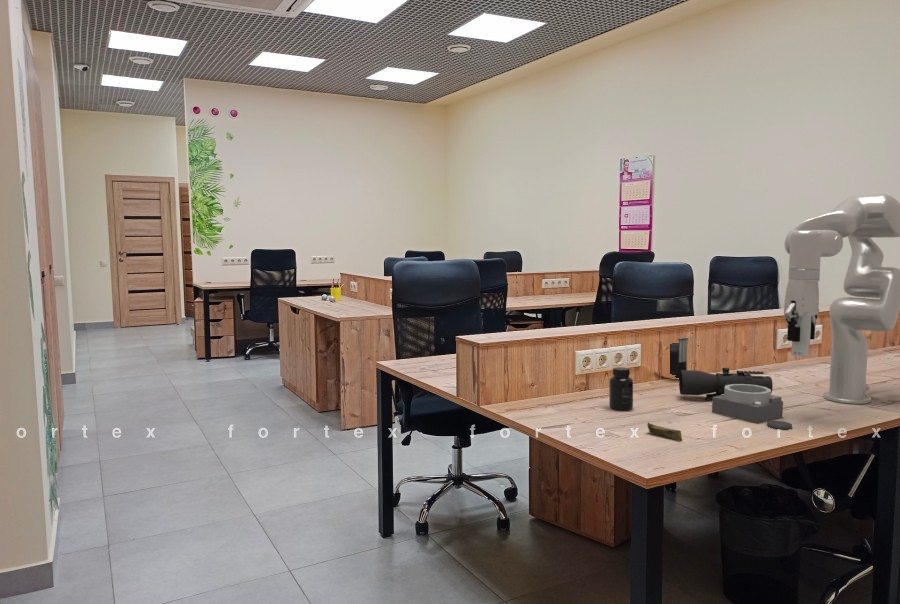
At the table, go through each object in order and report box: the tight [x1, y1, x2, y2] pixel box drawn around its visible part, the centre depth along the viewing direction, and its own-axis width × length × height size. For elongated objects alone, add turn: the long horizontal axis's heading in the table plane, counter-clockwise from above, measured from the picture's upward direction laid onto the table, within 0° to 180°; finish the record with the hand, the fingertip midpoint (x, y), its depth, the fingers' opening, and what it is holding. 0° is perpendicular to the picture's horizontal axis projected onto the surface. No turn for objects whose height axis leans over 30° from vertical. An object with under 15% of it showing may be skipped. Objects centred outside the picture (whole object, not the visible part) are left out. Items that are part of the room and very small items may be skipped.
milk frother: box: [670, 337, 689, 378], centre depth 234 cm, size 14×16×15 cm
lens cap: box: [766, 420, 793, 431], centre depth 174 cm, size 6×6×1 cm
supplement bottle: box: [608, 366, 634, 412], centre depth 193 cm, size 7×7×12 cm
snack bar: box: [647, 422, 683, 442], centre depth 166 cm, size 10×2×3 cm, turn 39°
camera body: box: [711, 384, 784, 424], centre depth 186 cm, size 12×14×8 cm
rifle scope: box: [678, 367, 774, 402], centre depth 203 cm, size 10×26×10 cm, turn 78°
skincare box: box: [791, 313, 811, 358], centre depth 180 cm, size 6×4×12 cm
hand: (800, 339), depth 180 cm, fingers closed on skincare box, 7 cm apart
